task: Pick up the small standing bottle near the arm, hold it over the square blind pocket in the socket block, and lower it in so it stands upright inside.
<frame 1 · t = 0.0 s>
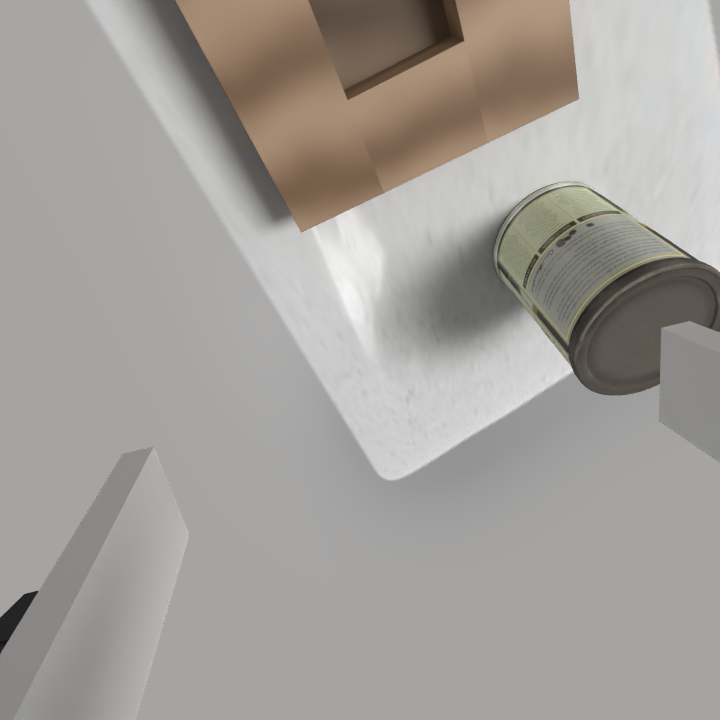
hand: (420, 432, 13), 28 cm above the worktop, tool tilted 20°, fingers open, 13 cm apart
coffee can: (548, 239, 43), on the worktop
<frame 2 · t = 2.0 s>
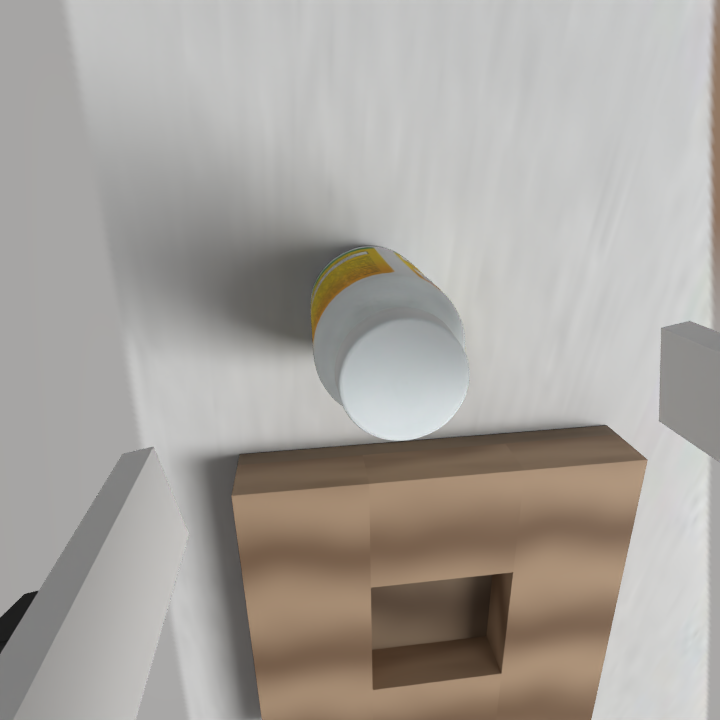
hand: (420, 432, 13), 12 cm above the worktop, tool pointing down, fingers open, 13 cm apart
supplement bottle: (365, 300, 24), on the worktop
socket block: (425, 583, 31), on the worktop
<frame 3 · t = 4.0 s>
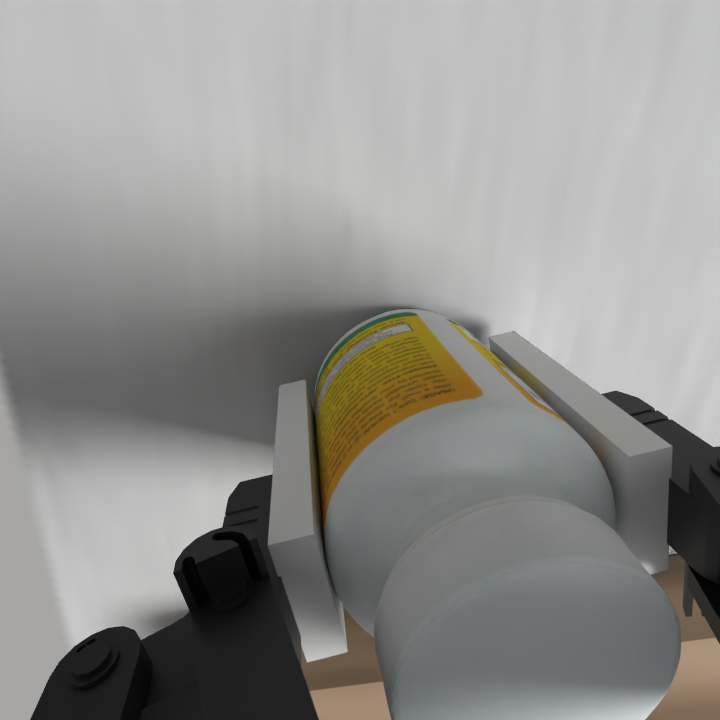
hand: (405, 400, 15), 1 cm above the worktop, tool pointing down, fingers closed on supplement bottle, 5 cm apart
supplement bottle: (398, 387, 16), on the worktop, touching gripper
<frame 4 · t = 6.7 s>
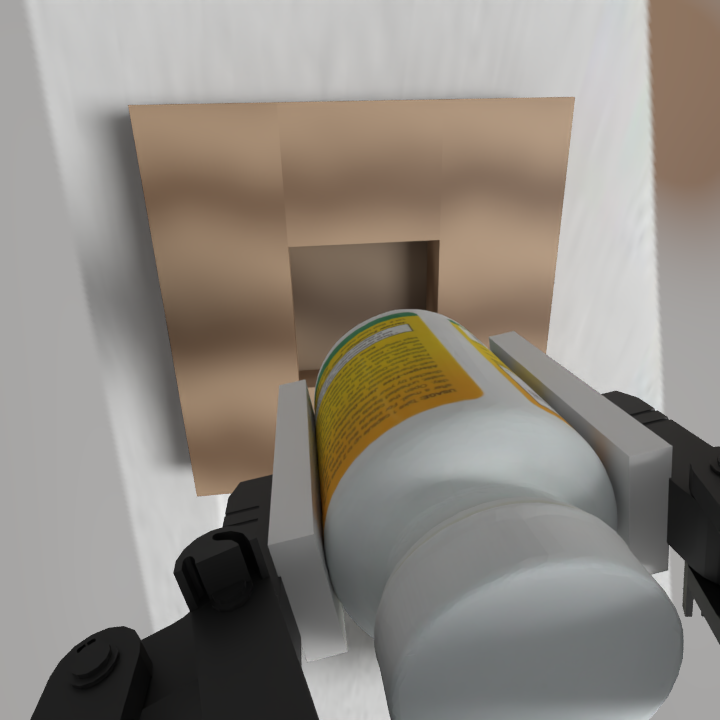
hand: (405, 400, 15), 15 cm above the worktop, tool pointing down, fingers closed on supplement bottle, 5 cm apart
supplement bottle: (398, 387, 16), point 14 cm above the worktop, touching gripper
socket block: (358, 300, 29), on the worktop
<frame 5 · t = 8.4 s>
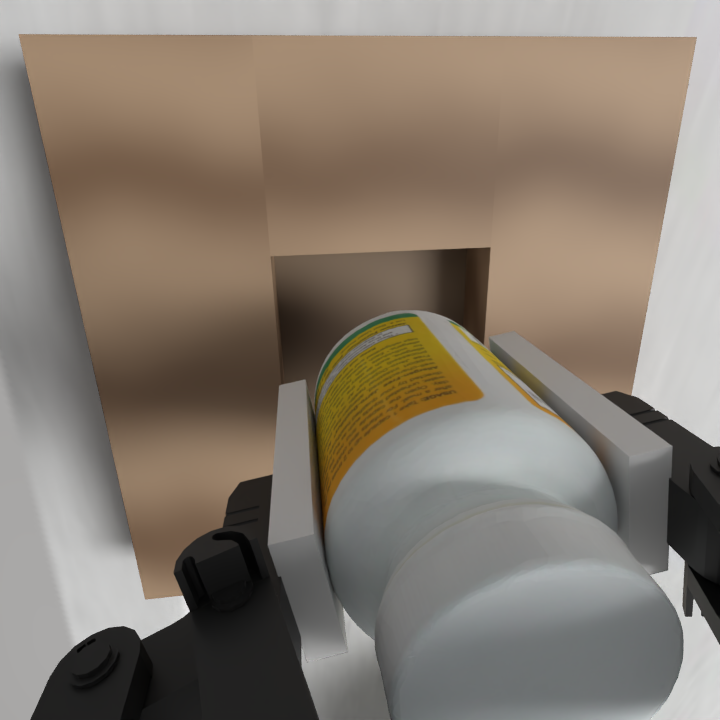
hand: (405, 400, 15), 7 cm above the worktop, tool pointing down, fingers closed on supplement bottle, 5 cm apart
supplement bottle: (398, 388, 16), point 6 cm above the worktop, touching gripper
socket block: (370, 328, 22), on the worktop
when the fingers open (4 cm above the worktop, at t = 9.7 s): supplement bottle drops 2 cm, resting on socket block.
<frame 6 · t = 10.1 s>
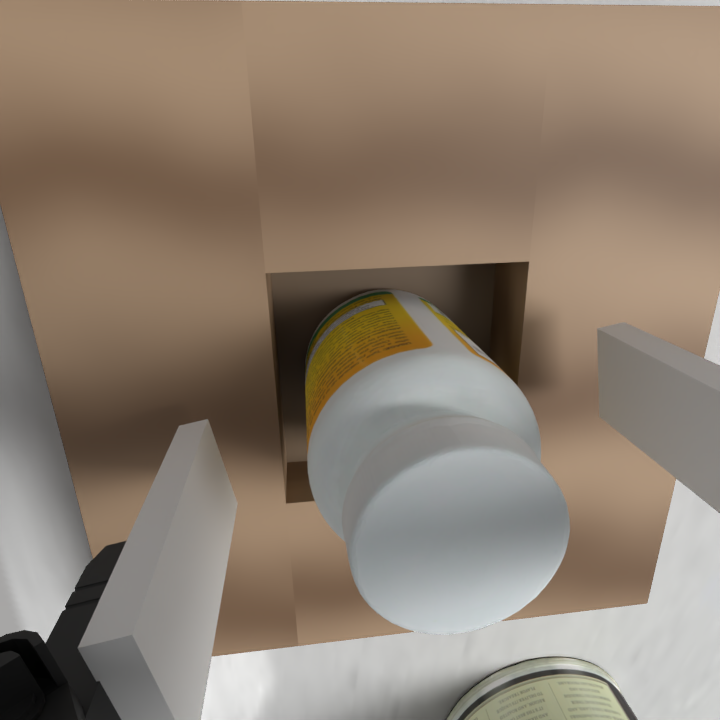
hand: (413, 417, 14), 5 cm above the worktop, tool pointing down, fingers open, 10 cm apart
supplement bottle: (379, 359, 18), point 1 cm above the worktop, touching socket block
socket block: (381, 351, 19), on the worktop
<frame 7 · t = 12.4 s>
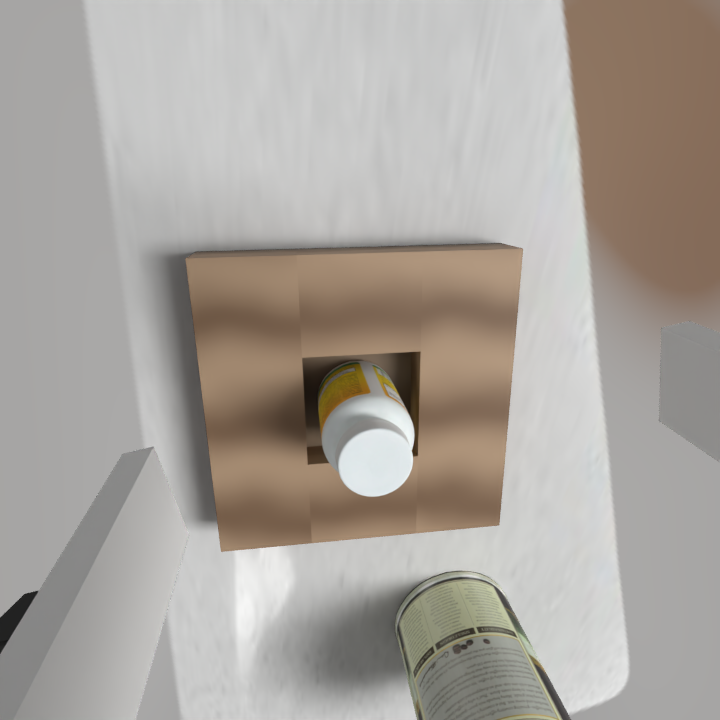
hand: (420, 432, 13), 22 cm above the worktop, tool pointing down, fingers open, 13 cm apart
coffee can: (451, 615, 44), on the worktop
supplement bottle: (354, 393, 35), point 1 cm above the worktop, touching socket block
socket block: (356, 389, 36), on the worktop
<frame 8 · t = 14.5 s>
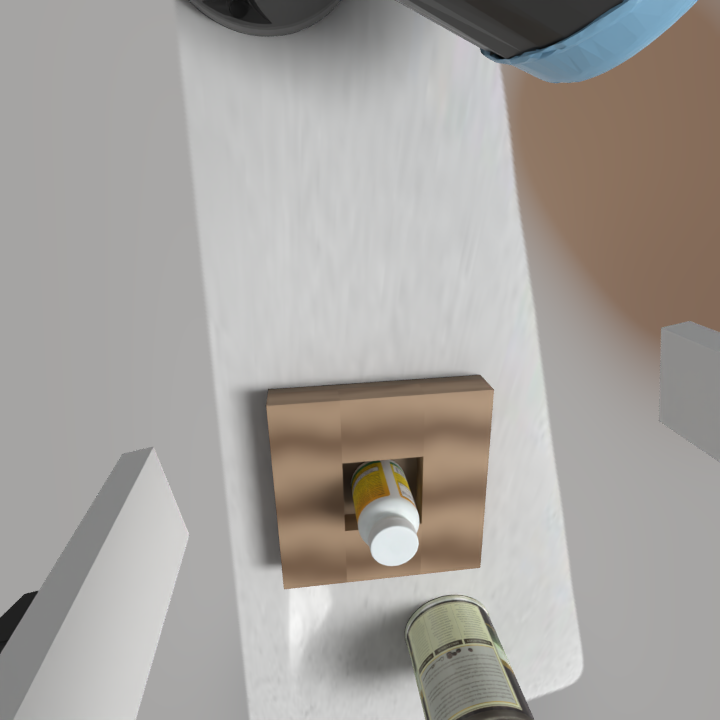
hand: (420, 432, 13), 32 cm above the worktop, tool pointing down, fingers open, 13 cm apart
coffee can: (446, 626, 59), on the worktop
supplement bottle: (376, 478, 50), point 1 cm above the worktop, touching socket block
socket block: (377, 473, 51), on the worktop
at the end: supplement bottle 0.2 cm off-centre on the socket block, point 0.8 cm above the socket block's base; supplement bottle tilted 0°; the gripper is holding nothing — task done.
